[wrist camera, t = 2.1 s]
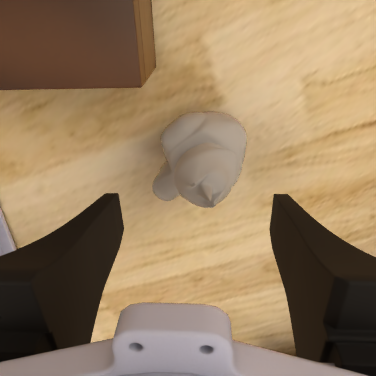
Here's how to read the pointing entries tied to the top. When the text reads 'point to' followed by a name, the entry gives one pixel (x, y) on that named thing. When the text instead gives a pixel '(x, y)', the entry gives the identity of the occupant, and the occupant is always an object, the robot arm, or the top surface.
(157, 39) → the top surface
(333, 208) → the top surface
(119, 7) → the wooden box
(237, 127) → the beige rounded piece
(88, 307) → the robot arm
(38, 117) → the top surface
